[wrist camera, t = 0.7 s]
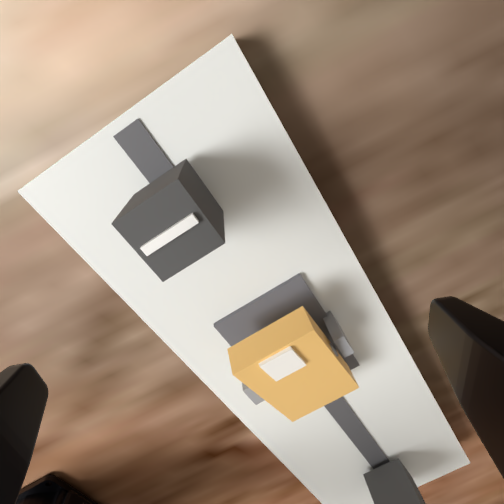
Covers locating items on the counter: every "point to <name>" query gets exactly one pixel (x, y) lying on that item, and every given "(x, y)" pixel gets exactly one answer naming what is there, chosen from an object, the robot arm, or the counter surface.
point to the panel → (252, 273)
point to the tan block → (292, 366)
